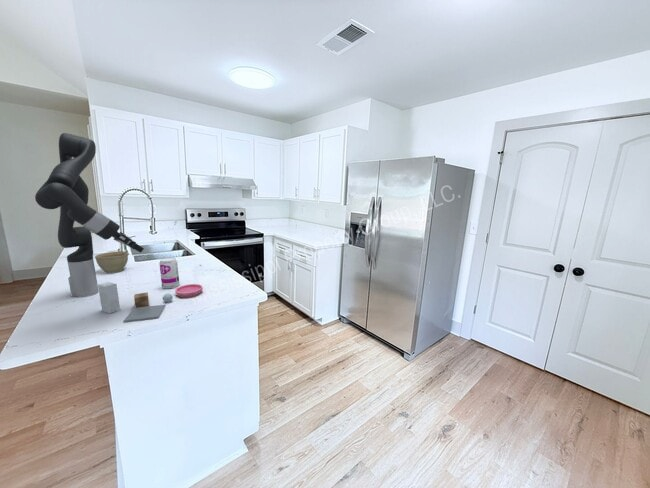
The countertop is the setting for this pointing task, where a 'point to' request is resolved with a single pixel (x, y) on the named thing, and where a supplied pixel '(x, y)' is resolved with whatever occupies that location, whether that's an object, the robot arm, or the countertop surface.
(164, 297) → the grey ball
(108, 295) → the skincare box
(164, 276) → the supplement can
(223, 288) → the countertop surface
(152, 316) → the slate coaster
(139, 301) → the walnut block
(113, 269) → the planter bowl
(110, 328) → the countertop surface
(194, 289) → the saucer
